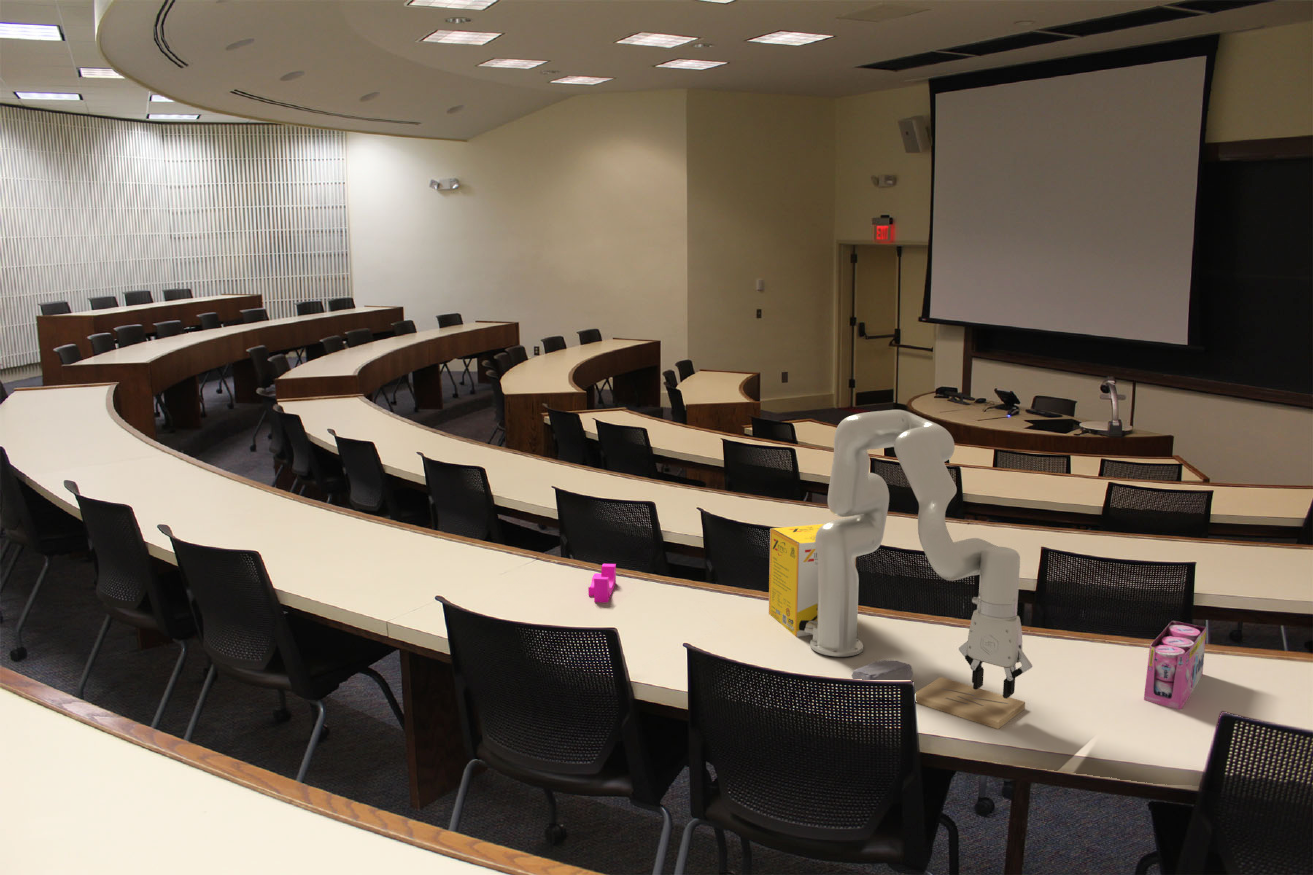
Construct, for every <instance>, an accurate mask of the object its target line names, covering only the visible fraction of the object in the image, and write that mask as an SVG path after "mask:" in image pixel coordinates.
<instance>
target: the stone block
mask: <svg viewBox="0 0 1313 875" xmlns="http://www.w3.org/2000/svg"><path fill="white" fill-rule="evenodd" d="M913 676H914V672H913V667H912V665H911V664H910V663H907V662H902V661H899V660H893V659H892V660H891V659H889V660H886V659H883V660H876V661H873V662H870V663H867V664H865V665H863V666H861V667H858V668H856V669H854V670H853V671H852V673H851V678H852V680H853V679H862V680H911V681H913V680H912V679H913Z"/></svg>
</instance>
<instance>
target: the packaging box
mask: <svg viewBox="0 0 1313 875" xmlns="http://www.w3.org/2000/svg"><path fill="white" fill-rule="evenodd" d="M824 524H825V523H820V524H819V523H818V524H808V525H796V526H786V527H784V526H783V527H772V528H770V529H769V533H770V534H769V575H768V578H769V579H768V580H769V581H768V588H769V589H768V615H770V616H771V617H772V618H773V619H774V620H775V621H777V623H778V624H780V625H781V626H783V627H784V628H785V629H786V630H787V631H788V632H790V633H791V634H792V635H793V636H794V637H795V638H799V637H804V636H805V637H806V636H811V635H812V634H809V633H806V632H805V628H806V624H807V623H808V622H810V623H814V624H816V625H817V613H818V558H817V552H816V546H815V537H816V533H817V531H818V530H819V528H820V527H821V526H822V525H824ZM853 563H854V565H855V567H856V568H857V557H854V558H853ZM812 636H813V635H812Z"/></svg>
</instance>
